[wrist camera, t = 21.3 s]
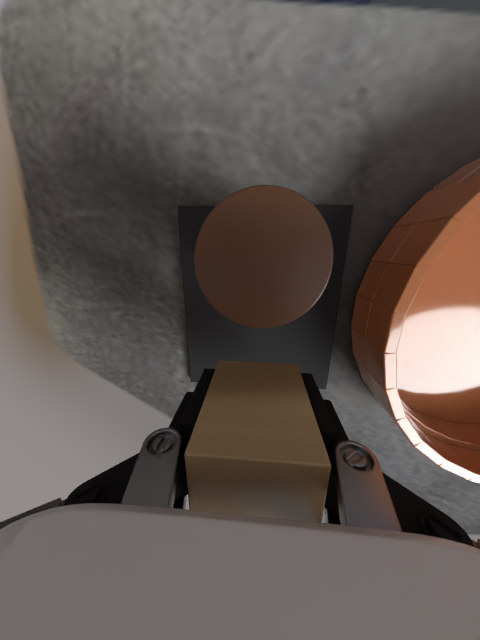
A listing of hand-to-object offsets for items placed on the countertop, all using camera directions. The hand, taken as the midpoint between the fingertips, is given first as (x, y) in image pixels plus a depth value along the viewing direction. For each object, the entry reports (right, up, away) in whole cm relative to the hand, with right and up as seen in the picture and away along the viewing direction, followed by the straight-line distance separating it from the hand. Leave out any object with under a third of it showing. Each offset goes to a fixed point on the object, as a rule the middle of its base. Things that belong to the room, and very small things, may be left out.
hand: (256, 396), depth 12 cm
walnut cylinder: (0, +8, +2) cm, 8 cm away
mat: (0, +5, +3) cm, 6 cm away
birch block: (0, 0, 0) cm, 0 cm away
